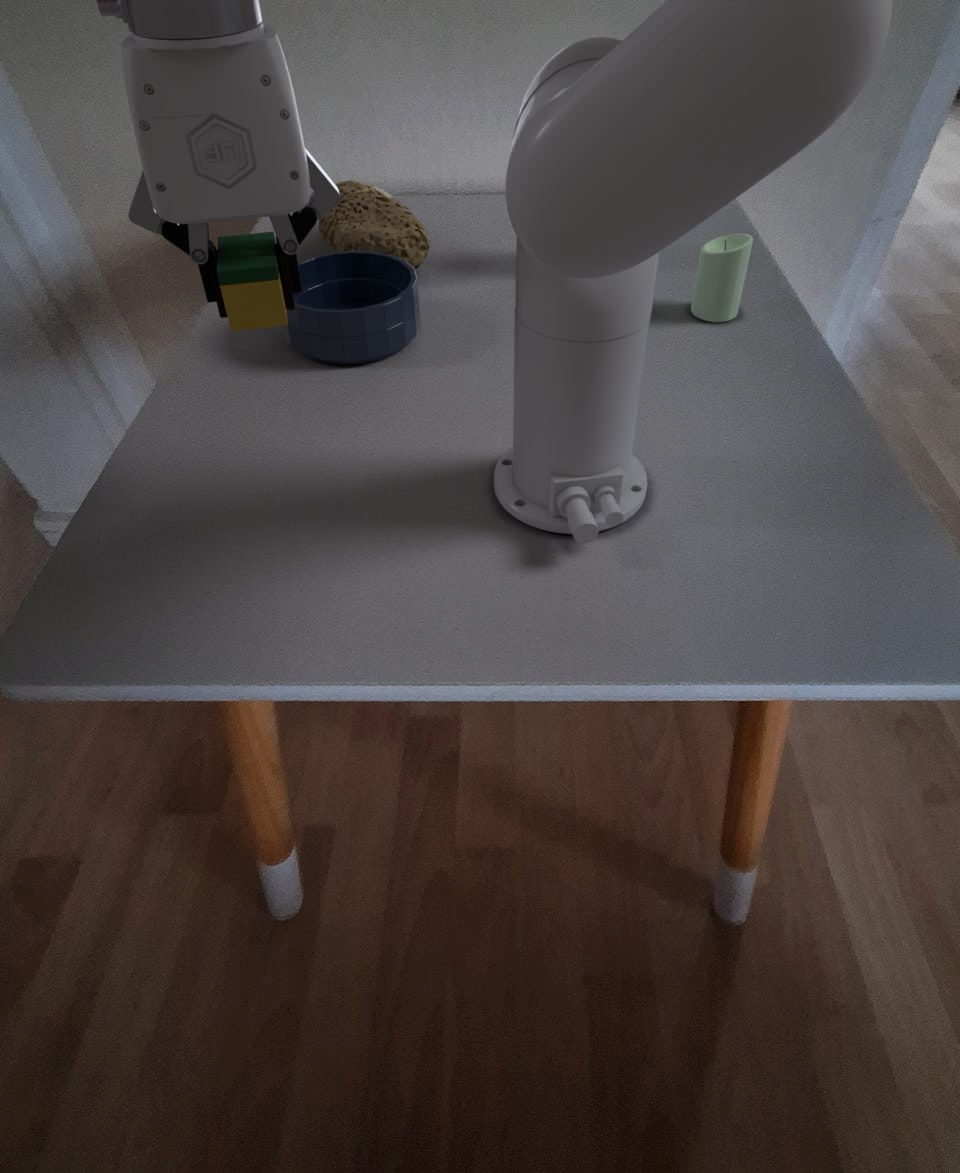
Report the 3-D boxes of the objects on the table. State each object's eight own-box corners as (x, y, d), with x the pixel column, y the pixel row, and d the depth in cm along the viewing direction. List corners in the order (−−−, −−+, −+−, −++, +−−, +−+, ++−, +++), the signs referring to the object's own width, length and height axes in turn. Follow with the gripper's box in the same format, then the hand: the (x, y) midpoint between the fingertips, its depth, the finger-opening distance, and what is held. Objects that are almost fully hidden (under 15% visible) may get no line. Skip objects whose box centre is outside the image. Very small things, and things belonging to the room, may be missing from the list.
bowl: (428, 360, 85) (424, 304, 81) (286, 375, 84) (275, 318, 79) (412, 298, 95) (408, 245, 91) (285, 310, 94) (275, 256, 89)
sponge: (319, 238, 111) (312, 270, 94) (321, 172, 107) (315, 194, 90) (418, 250, 113) (429, 284, 96) (424, 187, 109) (437, 211, 92)
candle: (686, 318, 91) (699, 242, 85) (694, 298, 94) (707, 224, 88) (733, 326, 89) (749, 249, 84) (740, 305, 93) (756, 230, 87)
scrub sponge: (288, 325, 60) (276, 265, 57) (231, 332, 59) (216, 271, 56) (284, 289, 64) (273, 231, 61) (231, 295, 64) (217, 236, 61)
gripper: (31, 31, 45) (136, 343, 58) (344, 10, 47) (377, 316, 60) (52, 3, 50) (144, 295, 63) (333, -14, 53) (366, 272, 65)
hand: (257, 303), depth 61 cm, fingers closed on scrub sponge, 4 cm apart
